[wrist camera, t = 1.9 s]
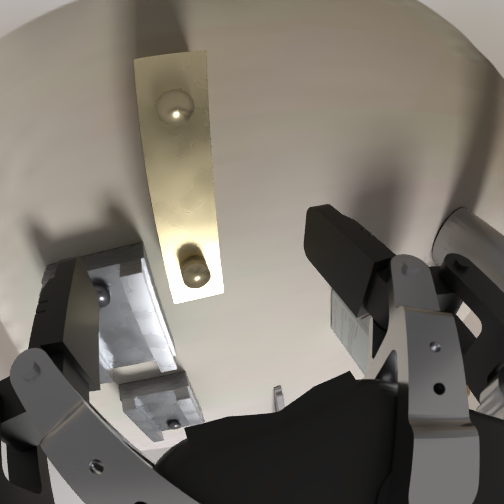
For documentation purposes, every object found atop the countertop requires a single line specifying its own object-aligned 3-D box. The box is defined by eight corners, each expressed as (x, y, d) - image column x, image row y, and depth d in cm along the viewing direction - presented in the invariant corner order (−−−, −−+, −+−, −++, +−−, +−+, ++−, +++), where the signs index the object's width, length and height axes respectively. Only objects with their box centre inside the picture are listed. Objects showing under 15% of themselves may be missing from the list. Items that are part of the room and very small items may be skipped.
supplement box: (376, 304, 36) (434, 373, 26) (329, 328, 35) (384, 408, 25) (384, 262, 31) (457, 338, 22) (330, 287, 30) (401, 379, 20)
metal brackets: (143, 242, 20) (145, 271, 17) (201, 409, 36) (207, 430, 34) (46, 265, 18) (37, 296, 15) (147, 420, 34) (152, 442, 31)
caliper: (280, 426, 52) (292, 451, 47) (274, 428, 51) (286, 453, 47) (279, 383, 39) (297, 418, 35) (272, 386, 39) (289, 421, 34)
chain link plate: (190, 57, 14) (211, 48, 10) (206, 250, 22) (227, 302, 18) (137, 65, 13) (132, 57, 9) (165, 258, 22) (177, 315, 17)
